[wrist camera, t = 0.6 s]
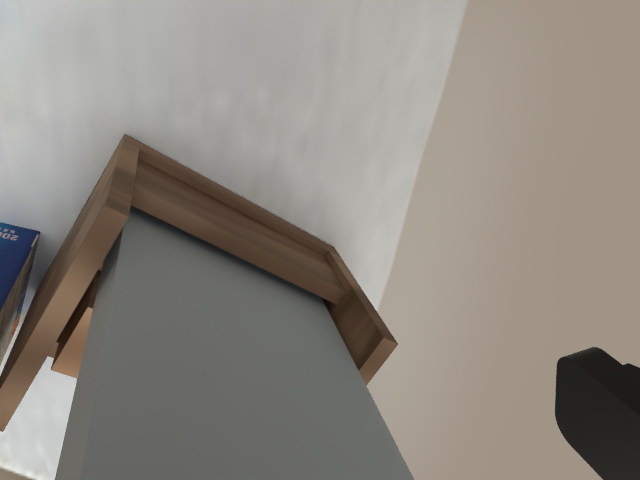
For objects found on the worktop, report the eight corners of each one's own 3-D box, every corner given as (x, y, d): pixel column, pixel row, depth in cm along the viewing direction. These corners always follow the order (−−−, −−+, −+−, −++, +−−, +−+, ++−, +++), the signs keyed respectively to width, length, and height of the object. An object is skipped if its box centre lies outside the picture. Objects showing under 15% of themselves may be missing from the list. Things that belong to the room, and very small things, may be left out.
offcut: (104, 238, 32) (88, 307, 25) (192, 277, 35) (199, 349, 28) (74, 289, 33) (50, 369, 26) (162, 324, 36) (162, 405, 29)
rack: (124, 133, 32) (105, 205, 21) (334, 247, 39) (398, 344, 28) (36, 291, 34) (-21, 425, 24) (247, 371, 41) (276, 502, 31)
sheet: (131, 181, 31) (78, 486, 12) (307, 270, 37) (462, 574, 18) (115, 209, 32) (40, 546, 13) (292, 293, 37) (427, 613, 18)
